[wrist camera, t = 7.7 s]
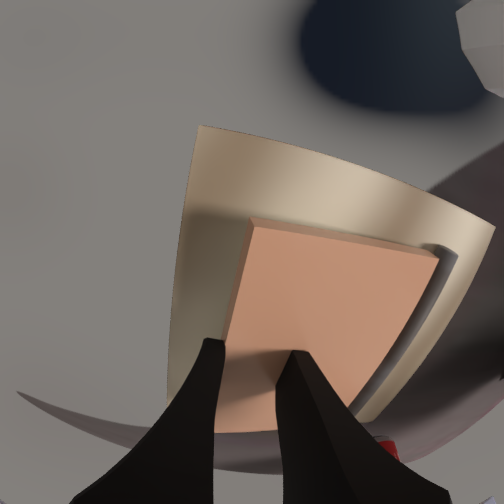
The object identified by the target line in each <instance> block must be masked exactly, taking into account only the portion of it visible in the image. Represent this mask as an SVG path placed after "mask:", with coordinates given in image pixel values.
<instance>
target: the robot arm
mask: <svg viewBox="0 0 504 504" xmlns="http://www.w3.org/2000/svg"><path fill="white" fill-rule="evenodd" d="M225 358H226V346H225V344H224V341H223V340H220V339H214V338H208V337H207V338H205V339H203V343H202V346H201V349H200V352H199V354H198V357H197V359H196V361H195V363H194V365H193V367H192V369H191V371H190V373H189V374H188V376H187V378H186V380H185V381H184V383H183V385H182V386H181V388H180V390H179V391H178V393H177V394H176V396H175V397H174V398H173V400H172V401H171V403H170V404H169V406H168V407H167V409H166V410H165V411H164V413H163V414H162V415H161V417H160V418H159V419H158V420H157V422H156V423H155V424H154V425H153V427H152V428H151V429H150V430H149V431H148V432H147V433H146V435H145V436H144V437H143V438H142V439H141V440H140V441H139V442H138V443H137V444H136V446H135V447H134V448H133V449H132V450H131V451H130V452H129V453H128V454H127V455H126V456H124V457H123V458H122V459H121V460H120V461H119V462H118V463H117V464H116V465H115V466H114V467H112V468H111V469H110V470H109V471H108V472H107V473H106V474H105V475H103V476H102V477H101V478H99V479H98V480H97V481H95V482H94V483H93V484H91V485H90V486H89V487H87V488H86V489H84V490H83V491H82V492H80V493H79V494H77V495H76V496H75V497H74V498H73V499H72V501H71V502H70V503H69V504H213V456H214V426H215V415H216V407H217V402H218V396H219V391H220V385H221V380H222V374H223V369H224V363H225ZM275 412H276V420H277V427H278V435H279V442H280V449H281V456H282V464H283V504H452V501H451V498H450V495H449V492H448V490H446V489H444V488H442V487H440V486H438V485H436V484H434V483H432V482H430V481H428V480H426V479H425V478H423V477H421V476H420V475H418V474H417V473H415V472H414V471H412V470H411V469H409V468H408V467H407V466H405V465H404V464H403V463H401V462H400V461H399V460H398V459H396V458H395V457H394V456H393V455H391V454H390V453H389V452H388V451H387V450H386V449H385V448H383V447H382V446H381V445H380V444H379V443H378V442H377V441H376V440H375V439H374V438H373V437H372V436H371V435H370V434H369V433H368V432H367V431H366V430H365V428H364V427H363V426H362V425H361V424H360V423H359V422H358V420H357V419H356V418H355V417H354V415H353V414H352V413H351V412H350V411H349V409H348V408H347V407H346V405H345V404H344V403H343V401H342V400H341V399H340V397H339V396H338V394H337V393H336V392H335V390H334V389H333V387H332V386H331V384H330V383H329V381H328V380H327V379H326V377H325V376H324V374H323V372H322V371H321V369H320V368H319V366H318V365H317V363H316V362H315V360H314V359H313V357H312V356H311V354H310V353H309V352H308V351H298V350H292V351H291V354H290V356H289V358H288V360H287V362H286V364H285V367H284V369H283V371H282V373H281V375H280V377H279V379H278V381H277V383H276V385H275ZM0 504H6V503H4V502H3V501H1V500H0ZM480 504H496V502H495V499H494V497H493V496H491V497H489V498H488V499H486V500H485V501H483V502H481V503H480Z"/></svg>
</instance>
